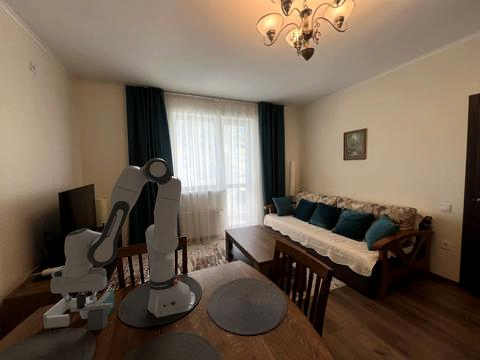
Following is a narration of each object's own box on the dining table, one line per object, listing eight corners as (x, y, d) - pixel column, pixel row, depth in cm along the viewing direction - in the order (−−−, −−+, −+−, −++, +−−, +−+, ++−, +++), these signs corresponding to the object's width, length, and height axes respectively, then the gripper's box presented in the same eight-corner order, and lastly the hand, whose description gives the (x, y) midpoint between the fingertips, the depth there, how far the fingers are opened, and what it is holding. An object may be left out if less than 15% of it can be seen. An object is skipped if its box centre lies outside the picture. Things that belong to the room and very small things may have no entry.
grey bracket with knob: (126, 304, 103) (125, 275, 102) (111, 327, 88) (109, 294, 87) (91, 307, 101) (90, 278, 101) (70, 331, 86) (68, 297, 86)
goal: (87, 306, 103) (86, 294, 103) (67, 326, 90) (66, 312, 90) (66, 307, 102) (66, 295, 102) (44, 328, 89) (43, 314, 89)
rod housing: (107, 323, 91) (106, 306, 91) (103, 329, 88) (102, 311, 87) (92, 325, 90) (91, 307, 90) (88, 330, 87) (87, 312, 87)
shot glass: (87, 320, 93) (87, 305, 93) (75, 318, 94) (74, 303, 94) (101, 310, 100) (100, 296, 99) (89, 308, 101) (88, 294, 101)
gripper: (109, 263, 91) (110, 294, 92) (58, 266, 89) (60, 298, 90) (101, 270, 85) (102, 303, 86) (46, 273, 83) (48, 307, 84)
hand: (80, 300), depth 88 cm, fingers open, 8 cm apart
